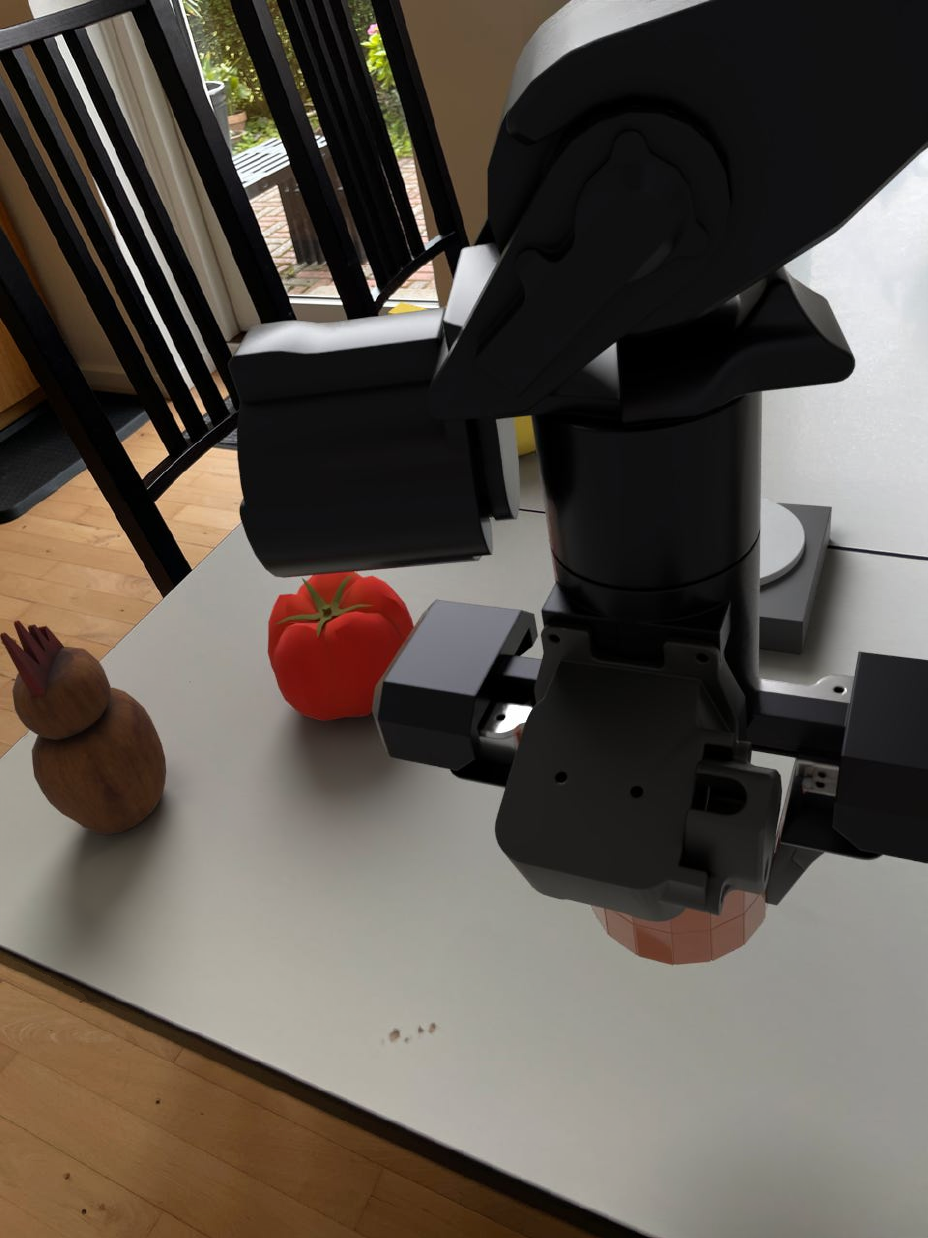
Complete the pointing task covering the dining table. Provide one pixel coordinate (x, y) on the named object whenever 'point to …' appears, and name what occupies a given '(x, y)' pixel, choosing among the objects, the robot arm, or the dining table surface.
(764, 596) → the scale
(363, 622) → the tomato
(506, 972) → the dining table surface
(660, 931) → the bowl
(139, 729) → the wooden figurine
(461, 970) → the dining table surface
